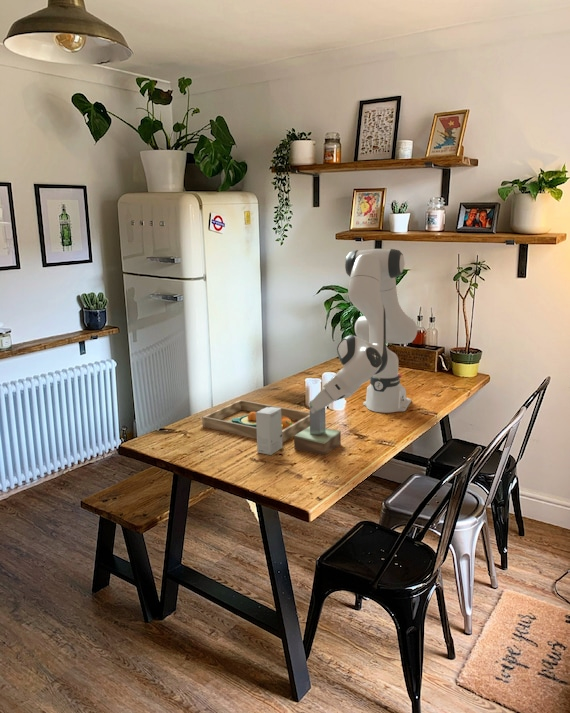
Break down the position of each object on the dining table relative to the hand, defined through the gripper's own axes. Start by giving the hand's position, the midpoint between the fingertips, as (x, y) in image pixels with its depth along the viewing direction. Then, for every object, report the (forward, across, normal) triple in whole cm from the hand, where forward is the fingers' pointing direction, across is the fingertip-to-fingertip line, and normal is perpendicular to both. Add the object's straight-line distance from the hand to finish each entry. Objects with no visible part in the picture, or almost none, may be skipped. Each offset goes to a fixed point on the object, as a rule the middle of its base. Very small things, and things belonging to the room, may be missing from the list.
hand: (318, 407), depth 213 cm
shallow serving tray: (+33, -8, -12) cm, 36 cm away
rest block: (+11, 0, +10) cm, 15 cm away
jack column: (+7, 0, +6) cm, 10 cm away
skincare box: (+20, +11, +1) cm, 23 cm away
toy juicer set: (+32, -5, -10) cm, 34 cm away
